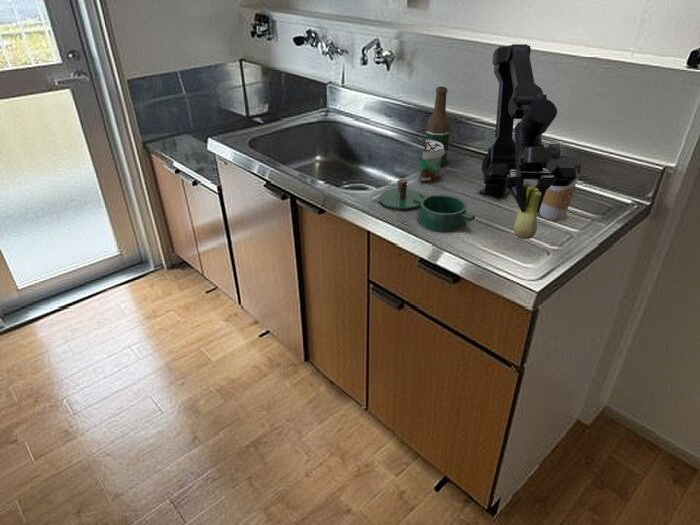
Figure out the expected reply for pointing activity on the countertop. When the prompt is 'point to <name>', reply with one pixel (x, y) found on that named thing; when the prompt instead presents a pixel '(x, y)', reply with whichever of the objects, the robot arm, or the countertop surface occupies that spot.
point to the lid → (400, 197)
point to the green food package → (431, 161)
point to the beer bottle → (439, 123)
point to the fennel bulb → (528, 214)
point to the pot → (443, 213)
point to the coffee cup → (559, 191)
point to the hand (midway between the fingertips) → (530, 212)
